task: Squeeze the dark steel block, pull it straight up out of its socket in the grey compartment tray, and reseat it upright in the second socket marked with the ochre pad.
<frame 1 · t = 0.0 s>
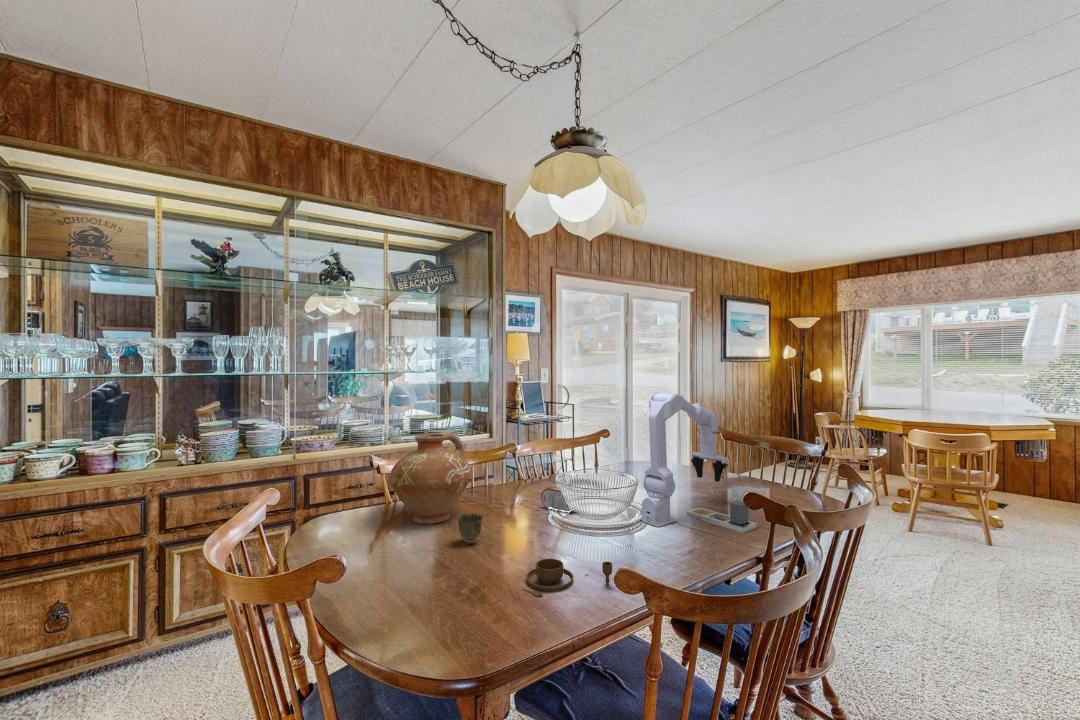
hand: (708, 479, 184), 10 cm above the table, tool pointing down, fingers open, 7 cm apart
tin: (559, 511, 180), on the table
cup: (470, 543, 150), on the table
place setting: (563, 588, 121), on the table
block: (739, 527, 161), resting in grey compartment tray
grey compartment tray: (720, 521, 167), on the table
jug: (431, 519, 173), on the table
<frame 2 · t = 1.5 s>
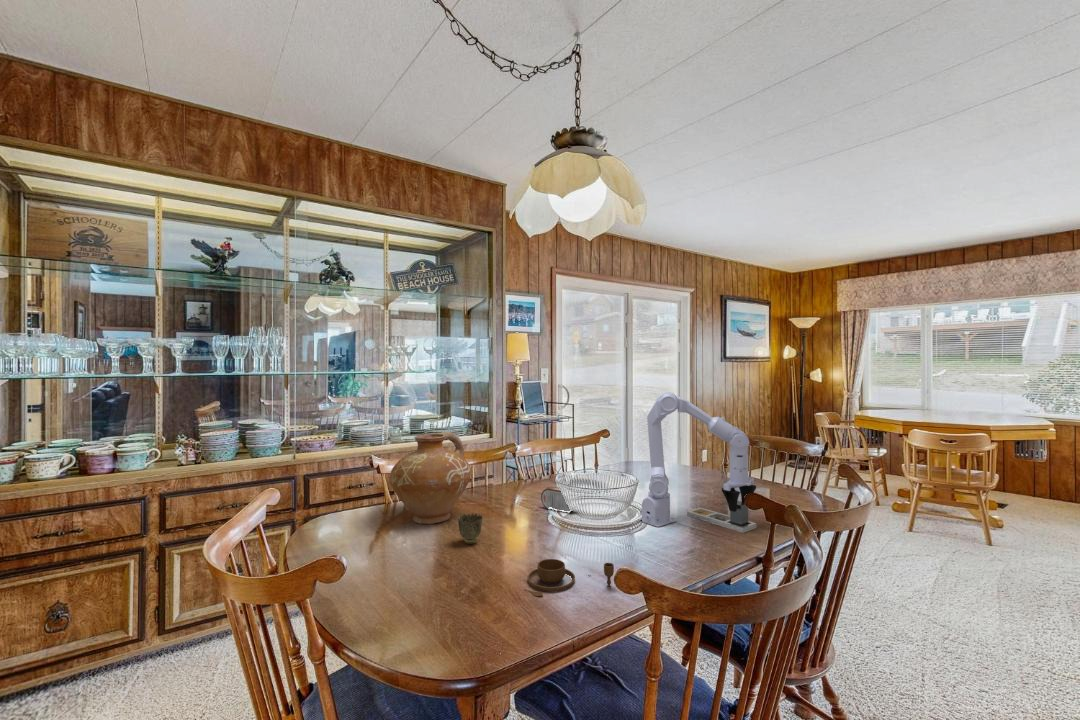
hand: (739, 508, 161), 6 cm above the table, tool pointing down, fingers open, 7 cm apart
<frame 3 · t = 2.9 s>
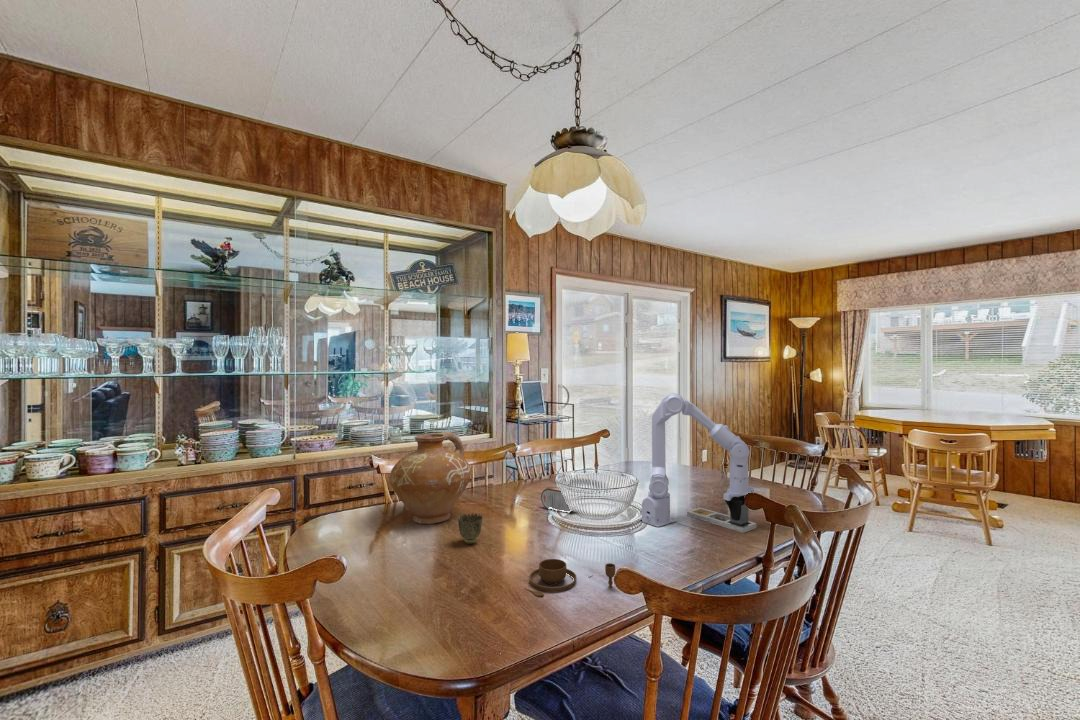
hand: (739, 518, 161), 3 cm above the table, tool pointing down, fingers closed on block, 4 cm apart
block: (739, 527, 161), resting in grey compartment tray, touching gripper
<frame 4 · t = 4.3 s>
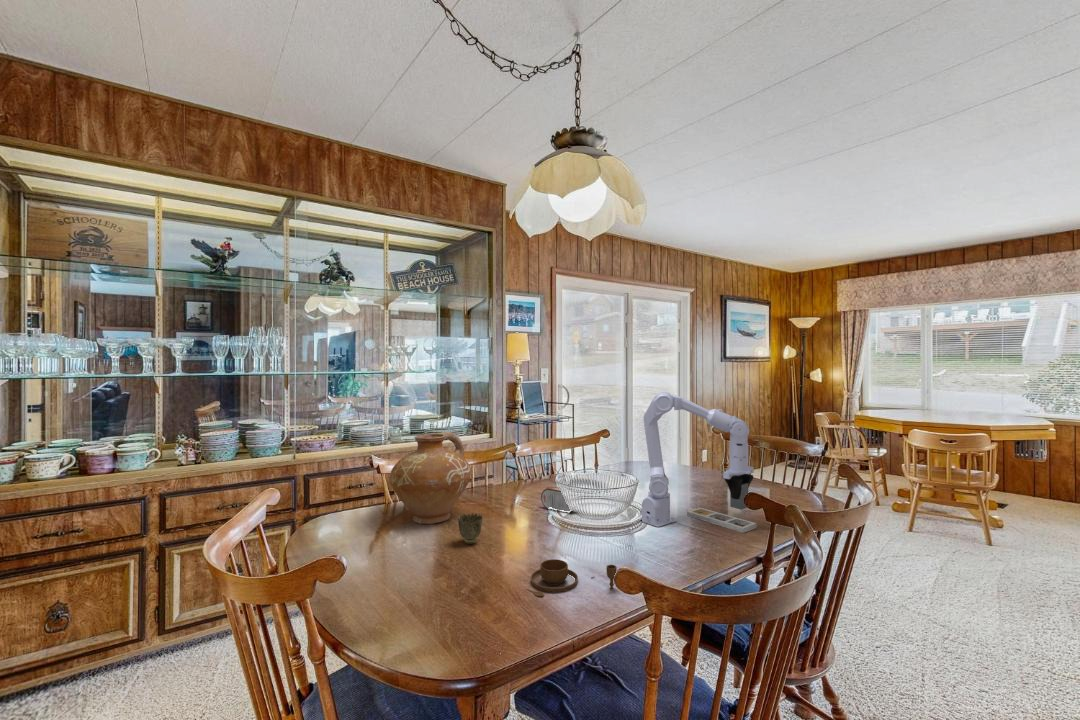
hand: (739, 497, 161), 10 cm above the table, tool pointing down, fingers closed on block, 4 cm apart
block: (739, 507, 161), point 7 cm above the table, touching gripper
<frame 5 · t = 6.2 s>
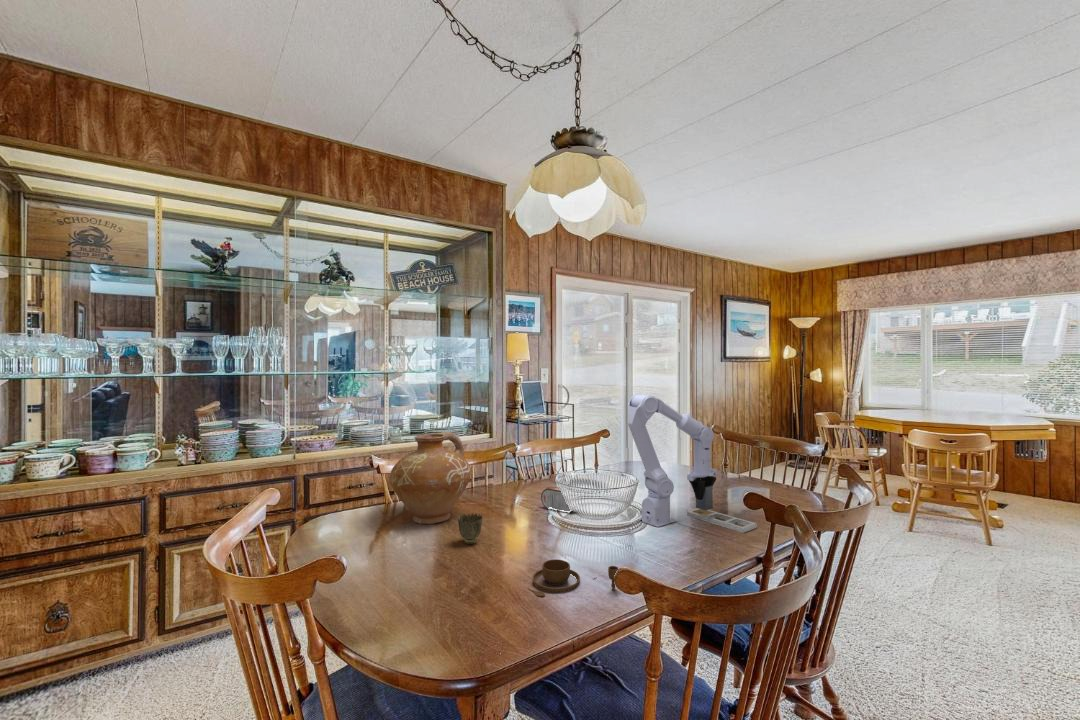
hand: (702, 498, 172), 6 cm above the table, tool pointing down, fingers closed on block, 4 cm apart
block: (704, 507, 172), point 3 cm above the table, touching gripper
when the fingers open (4 cm above the table, at t = 7.5 s): block stays where it is, resting on grey compartment tray.
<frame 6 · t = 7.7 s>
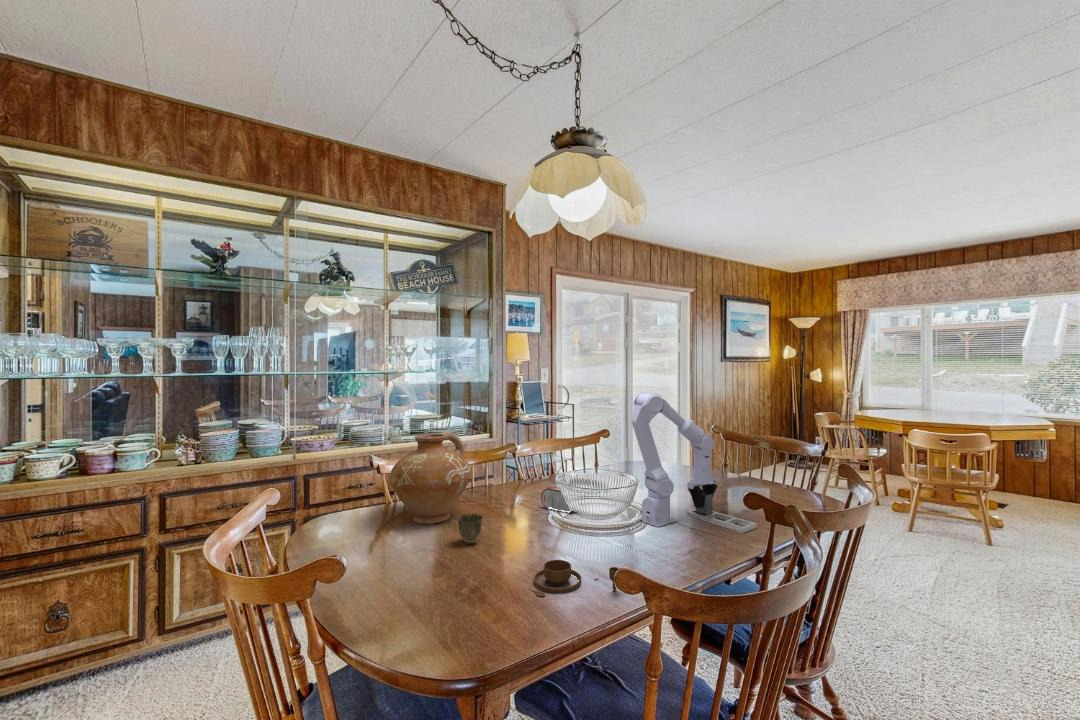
hand: (702, 505, 172), 4 cm above the table, tool pointing down, fingers open, 5 cm apart
block: (704, 516, 172), resting on grey compartment tray
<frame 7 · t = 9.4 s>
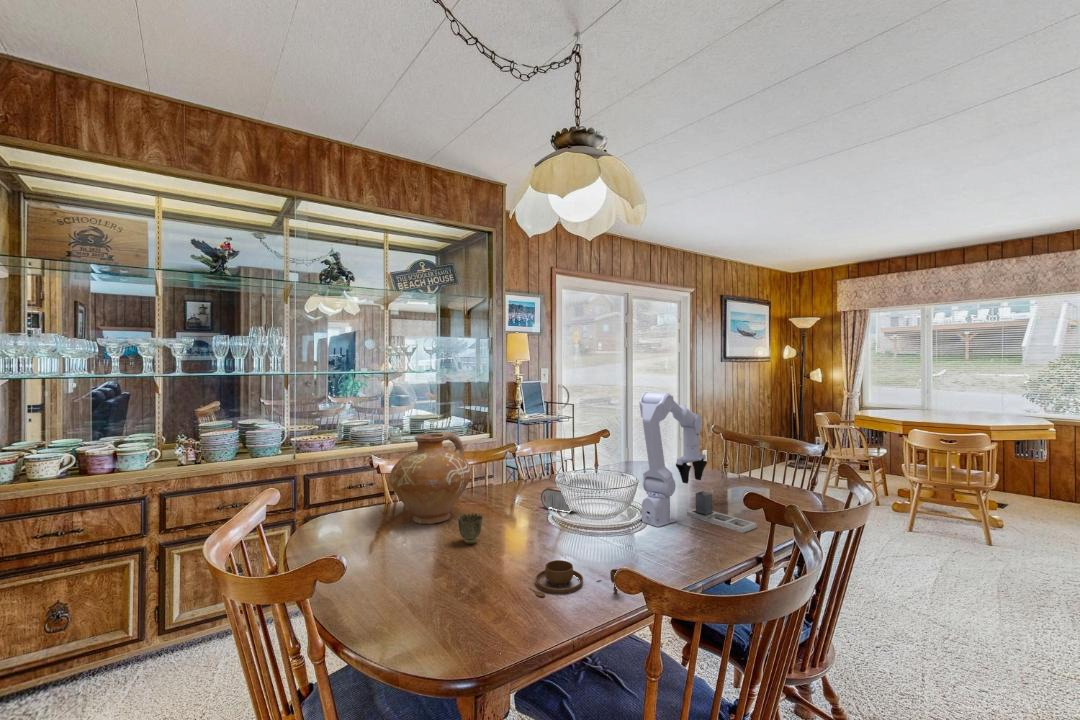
hand: (691, 481, 184), 10 cm above the table, tool pointing down, fingers open, 7 cm apart
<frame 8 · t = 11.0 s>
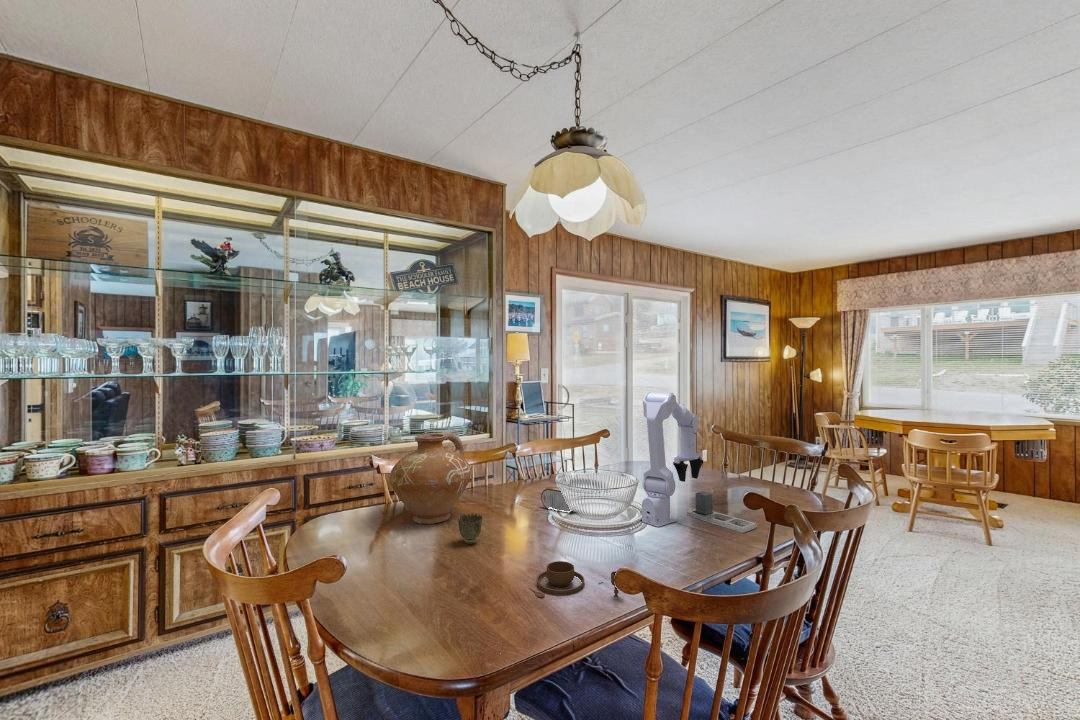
hand: (688, 479, 187), 9 cm above the table, tool pointing down, fingers open, 7 cm apart
at the end: block 0.5 cm from the target spot, resting on grey compartment tray; block tilted 0°; the gripper is holding nothing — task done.
